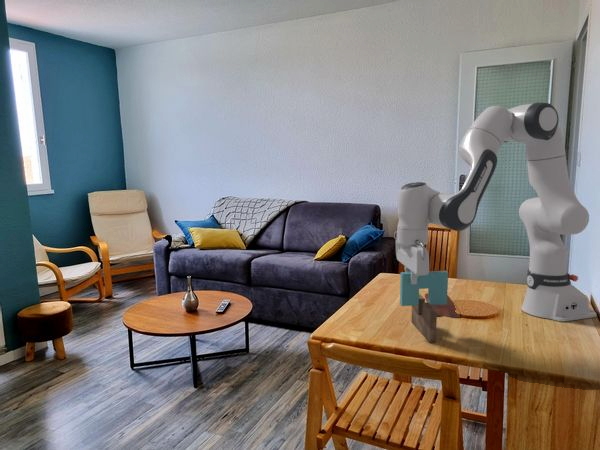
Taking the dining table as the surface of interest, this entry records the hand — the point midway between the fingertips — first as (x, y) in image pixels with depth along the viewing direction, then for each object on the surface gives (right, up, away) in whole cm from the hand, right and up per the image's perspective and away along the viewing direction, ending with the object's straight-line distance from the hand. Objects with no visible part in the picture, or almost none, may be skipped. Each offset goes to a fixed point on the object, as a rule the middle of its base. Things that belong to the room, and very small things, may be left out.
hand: (411, 282), depth 130 cm
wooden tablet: (+18, -13, +27) cm, 35 cm away
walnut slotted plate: (+4, -16, +3) cm, 17 cm away
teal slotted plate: (+4, -7, +1) cm, 8 cm away
